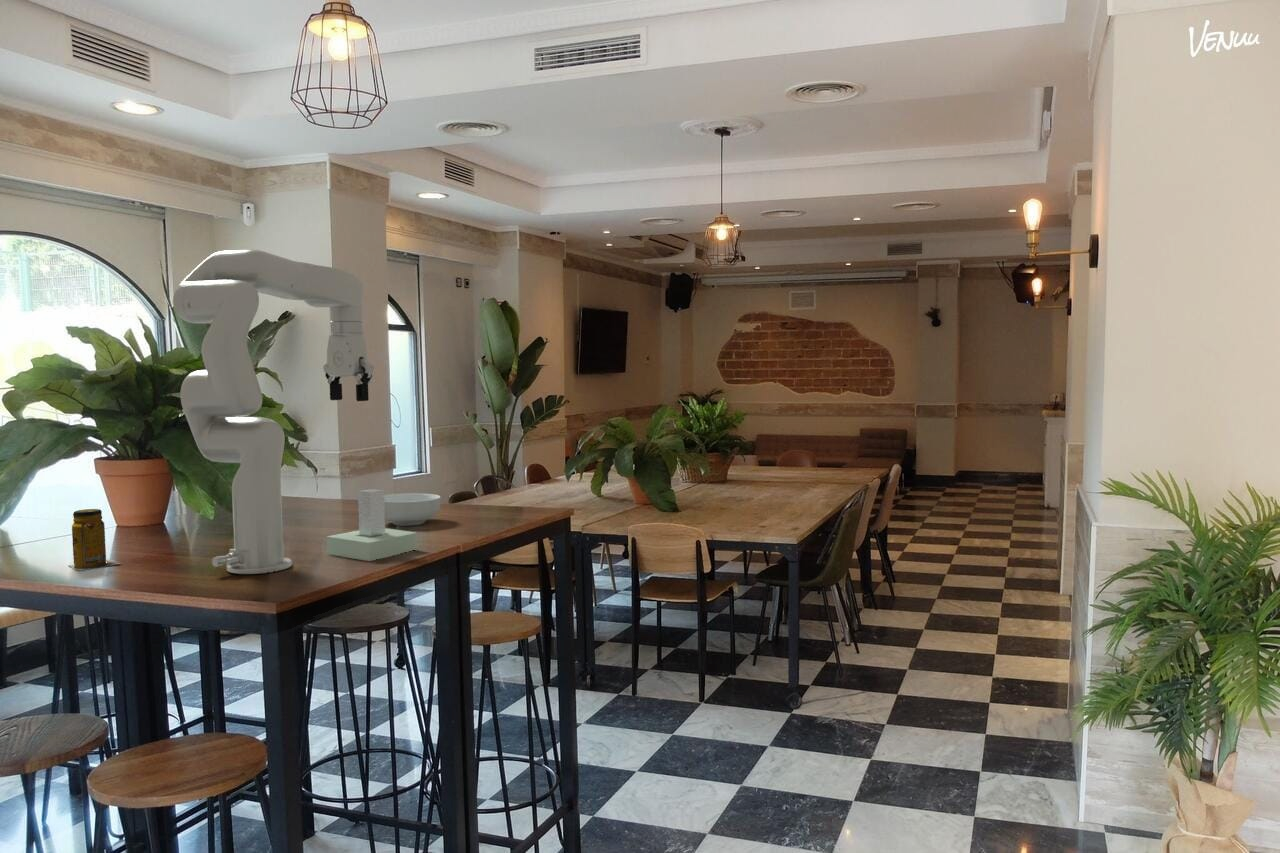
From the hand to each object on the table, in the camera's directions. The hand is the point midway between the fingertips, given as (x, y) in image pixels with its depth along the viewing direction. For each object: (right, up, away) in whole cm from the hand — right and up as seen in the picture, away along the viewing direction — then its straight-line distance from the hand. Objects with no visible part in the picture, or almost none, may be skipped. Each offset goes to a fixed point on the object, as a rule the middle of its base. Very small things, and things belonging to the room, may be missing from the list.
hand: (349, 400), depth 232 cm
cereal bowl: (+9, -32, +22) cm, 40 cm away
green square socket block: (+10, -35, -16) cm, 39 cm away
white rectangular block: (+10, -35, -16) cm, 40 cm away
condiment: (-46, -36, -28) cm, 65 cm away
